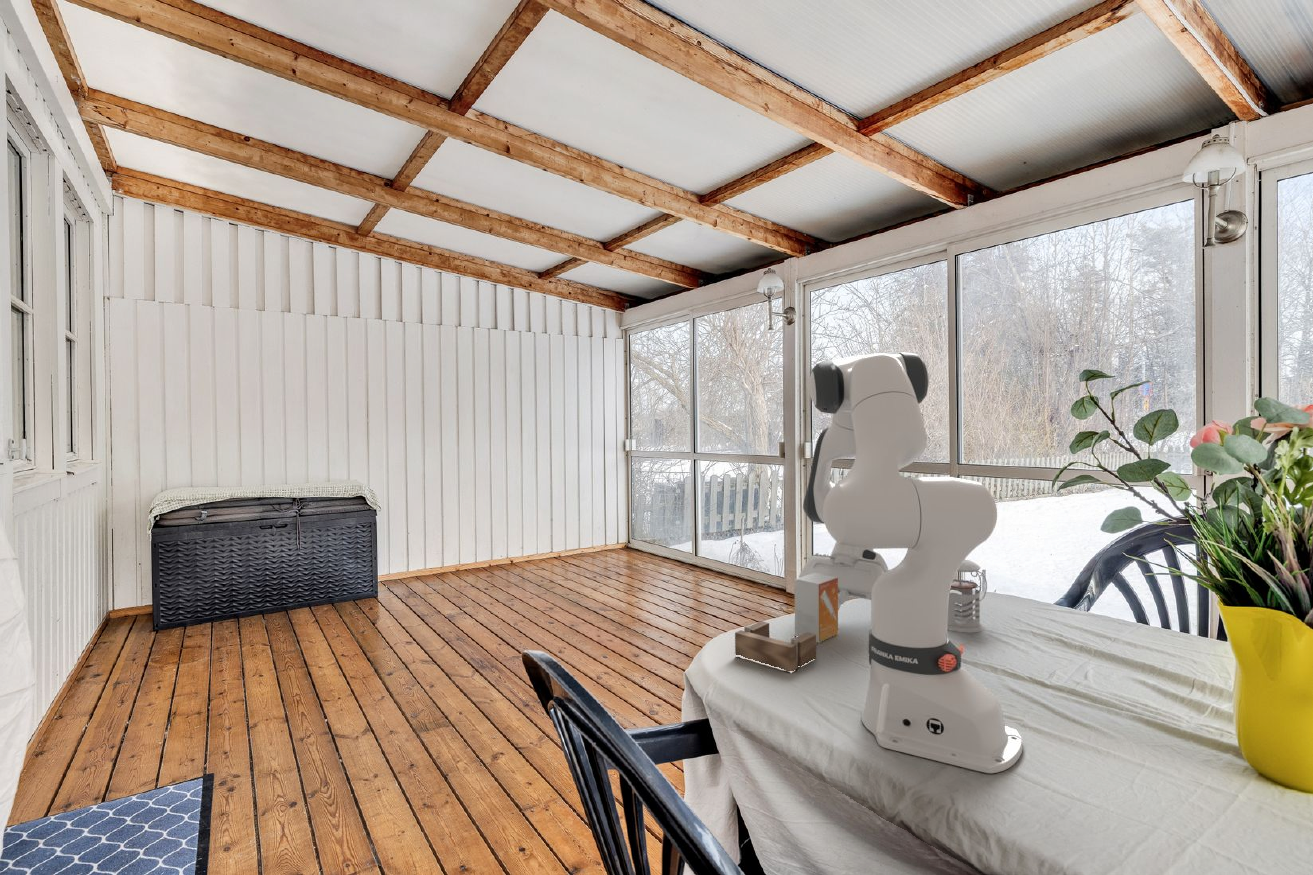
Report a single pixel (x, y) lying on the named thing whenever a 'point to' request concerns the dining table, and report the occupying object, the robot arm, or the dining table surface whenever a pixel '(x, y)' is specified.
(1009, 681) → the dining table surface
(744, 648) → the brown u-shaped piece
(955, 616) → the french press
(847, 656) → the dining table surface
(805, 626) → the small box
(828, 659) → the dining table surface
